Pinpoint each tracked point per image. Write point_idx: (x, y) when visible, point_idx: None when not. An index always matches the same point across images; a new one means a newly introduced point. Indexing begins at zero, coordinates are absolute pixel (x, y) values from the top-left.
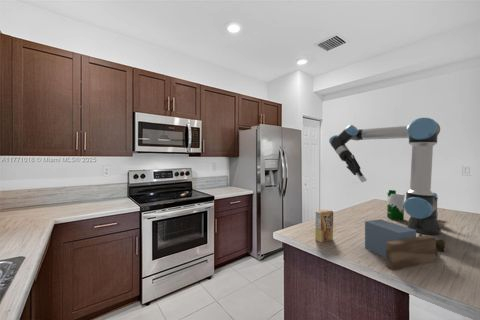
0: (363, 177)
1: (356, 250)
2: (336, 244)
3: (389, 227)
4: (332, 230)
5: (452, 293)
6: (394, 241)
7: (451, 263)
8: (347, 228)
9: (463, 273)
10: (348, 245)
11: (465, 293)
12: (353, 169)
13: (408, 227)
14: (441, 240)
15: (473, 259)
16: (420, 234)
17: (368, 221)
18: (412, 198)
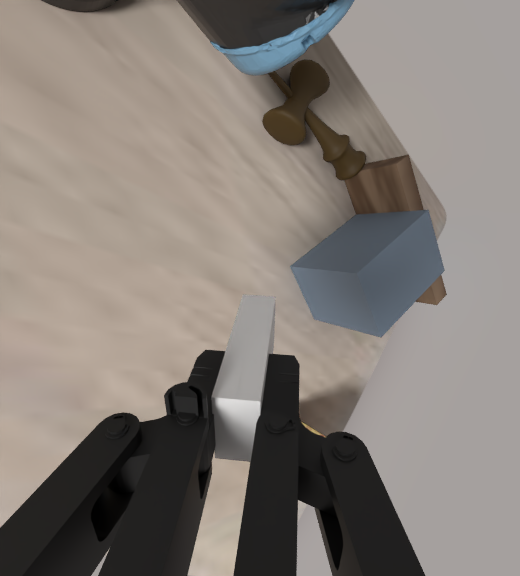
0: (271, 336)
1: (332, 344)
2: (308, 395)
3: (418, 278)
4: (302, 422)
5: (432, 224)
6: (434, 284)
7: (357, 133)
8: (141, 353)
9: (388, 147)
10: (308, 362)
11: (431, 202)
12: (186, 573)
13: (55, 1)
14: (324, 79)
15: (332, 44)
16: (300, 121)
17: (381, 326)
18: (336, 24)
